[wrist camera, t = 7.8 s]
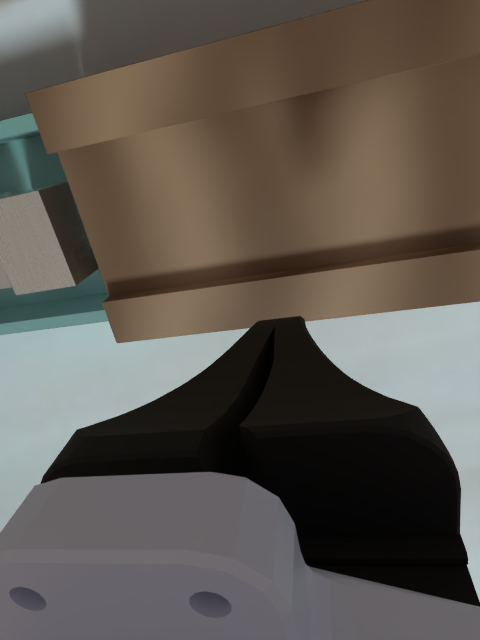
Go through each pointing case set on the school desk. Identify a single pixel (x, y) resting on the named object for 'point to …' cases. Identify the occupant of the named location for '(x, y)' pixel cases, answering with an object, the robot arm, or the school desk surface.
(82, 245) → the grey square block
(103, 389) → the school desk surface
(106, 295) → the tray
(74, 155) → the channel block
